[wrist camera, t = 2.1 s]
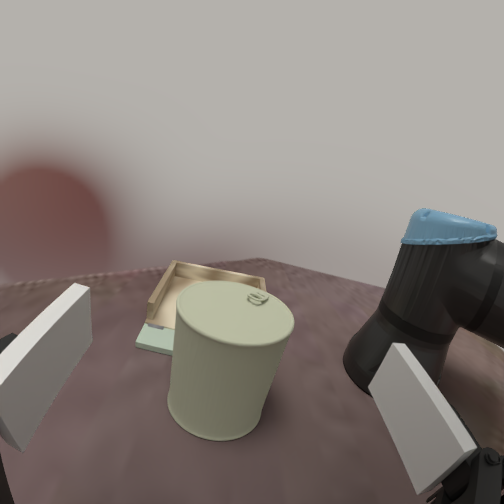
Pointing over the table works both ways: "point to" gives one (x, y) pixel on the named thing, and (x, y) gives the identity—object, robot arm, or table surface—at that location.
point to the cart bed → (182, 276)
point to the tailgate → (156, 339)
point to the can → (225, 357)
